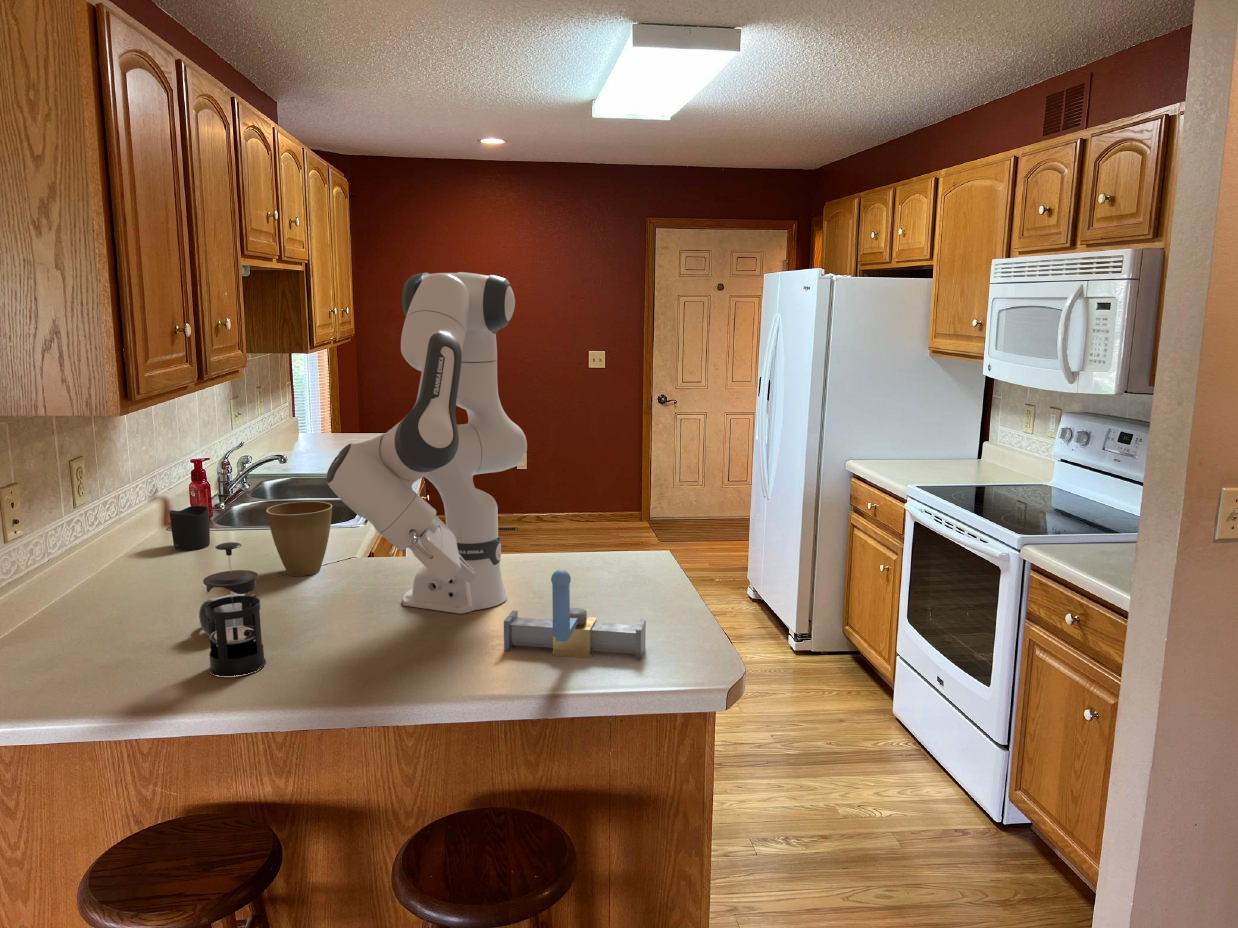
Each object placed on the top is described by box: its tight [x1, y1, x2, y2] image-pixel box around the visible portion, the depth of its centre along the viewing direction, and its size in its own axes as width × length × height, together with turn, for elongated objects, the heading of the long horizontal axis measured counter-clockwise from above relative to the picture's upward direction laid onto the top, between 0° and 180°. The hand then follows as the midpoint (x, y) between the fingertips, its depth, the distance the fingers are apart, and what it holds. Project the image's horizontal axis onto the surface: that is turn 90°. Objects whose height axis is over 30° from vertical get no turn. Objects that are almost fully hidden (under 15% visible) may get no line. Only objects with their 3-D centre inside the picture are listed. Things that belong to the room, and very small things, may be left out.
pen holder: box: [168, 505, 211, 552], centre depth 238 cm, size 9×9×10 cm
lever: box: [550, 569, 588, 642], centre depth 164 cm, size 15×4×13 cm, turn 170°
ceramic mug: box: [198, 592, 246, 637], centre depth 180 cm, size 11×8×8 cm
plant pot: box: [265, 500, 333, 577], centre depth 217 cm, size 15×15×16 cm
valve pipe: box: [503, 609, 647, 662], centre depth 170 cm, size 26×6×6 cm, turn 80°
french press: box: [202, 541, 267, 676], centre depth 161 cm, size 12×9×23 cm
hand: (472, 577), depth 153 cm, fingers closed
